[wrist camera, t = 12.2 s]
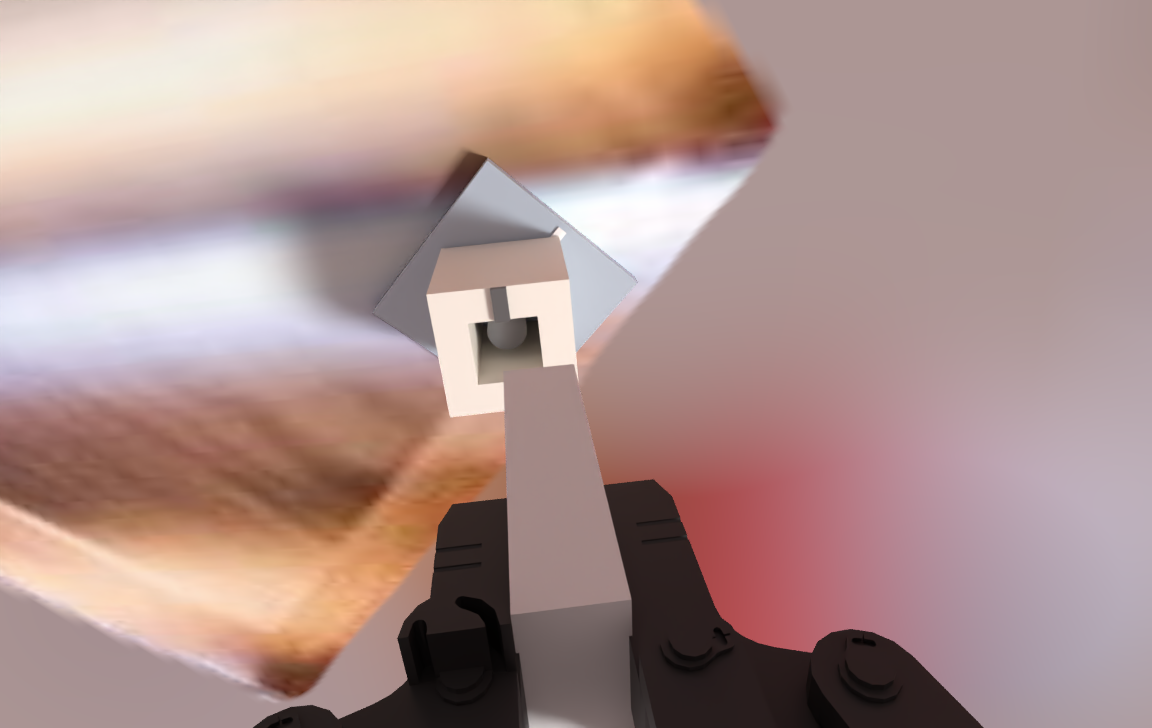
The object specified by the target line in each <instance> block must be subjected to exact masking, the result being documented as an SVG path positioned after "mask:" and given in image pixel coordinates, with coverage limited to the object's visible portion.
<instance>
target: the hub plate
mask: <svg viewBox="0 0 1152 728" xmlns="http://www.w3.org/2000/svg"><path fill="white" fill-rule="evenodd" d="M557 236H559V239H560V243H561V247H562V251H563V256H564V260H565V264H566V268H567V272H568V276H569V282H570V294H571V305H572V316H573V327H574V338H575V349H576V352H577V351H578V350H579V349H580V348H581V346H582V345H583V344H584V343H585V342H586V341H587V340H588V338H589V337H590V336H591V335H592V334H593V333H594V332H595V331H596V329H597V328H598V327H599V326H600V325H601V324H602V323H603V322H604V320H605V319H606V318H607V317H608V316H609V315H610V314H611V312H612V311H613V310H614V309H615V308H616V307H617V306H618V305H619V303H620V302H621V301H622V300H623V299H624V298H625V297H626V296H627V294H628V293H629V292H630V291H631V290H632V289H633V288H634V286H635V285H636V284H637V283H638V282H637V280H636V278H635V277H634V276H633V275H632V274H631V273H629V272H628V271H627V270H626V269H624V268H623V267H622V266H621V265H620V264H618V263H617V262H616V261H615V260H613V259H612V258H611V257H610V256H608V255H607V254H606V253H605V252H604V251H602V250H601V249H600V248H599V247H597V246H596V245H595V244H594V243H592V242H591V241H590V240H589V239H587V238H586V237H585V236H584V235H583V234H581V233H580V232H579V231H578V230H576V229H575V228H574V227H573V226H571V225H570V224H569V223H568V222H567V221H565V220H564V219H563V218H562V217H560V216H559V215H558V214H557V213H555V212H554V211H553V210H552V209H551V208H549V207H548V206H547V205H546V204H544V203H543V202H542V201H541V200H539V199H538V198H537V197H536V196H535V195H533V194H532V193H531V192H530V191H528V190H527V189H526V188H525V187H523V186H522V185H521V184H520V183H519V182H517V181H516V180H515V179H514V178H512V177H511V176H510V175H509V174H507V173H506V172H505V171H504V170H502V169H501V168H500V167H499V166H498V165H496V164H495V163H494V162H493V161H491V160H490V159H489V158H487V159H486V160H485V162H484V163H483V164H482V166H481V167H480V168H479V170H478V171H477V172H476V174H475V175H474V176H473V178H472V179H471V180H470V182H469V183H468V184H467V186H466V187H465V188H464V190H463V191H462V192H461V194H460V195H459V196H458V198H457V199H456V200H455V202H454V203H453V204H452V206H451V207H450V208H449V210H448V211H447V212H446V214H445V215H444V216H443V218H442V219H441V220H440V222H439V223H438V224H437V226H436V227H435V228H434V230H433V231H432V232H431V234H430V235H429V236H428V238H427V239H426V240H425V242H424V243H423V244H422V246H421V247H420V248H419V250H418V251H417V252H416V254H415V255H414V256H413V258H412V259H411V260H410V262H409V263H408V264H407V266H406V267H405V268H404V270H403V271H402V272H401V274H400V275H399V276H398V278H397V279H396V280H395V282H394V283H393V284H392V286H391V287H390V288H389V290H388V291H387V292H386V294H385V295H384V296H383V298H382V299H381V300H380V302H379V303H378V304H377V306H376V307H375V309H374V311H373V314H374V315H376V316H377V317H379V318H380V319H382V320H383V321H385V322H386V323H388V324H389V325H391V326H392V327H394V328H395V329H397V330H398V331H400V332H401V333H403V334H404V335H406V336H407V337H409V338H410V339H412V340H413V341H415V342H416V343H418V344H419V345H421V346H423V347H424V348H426V349H427V350H429V351H430V352H432V353H433V354H435V355H436V356H438V352H437V347H436V342H435V337H434V332H433V327H432V322H431V317H430V312H429V306H428V301H427V296H426V294H427V291H428V288H429V284H430V281H431V278H432V275H433V272H434V269H435V266H436V263H437V260H438V257H439V254H440V251H441V248H451V247H460V246H470V245H480V244H489V243H499V242H509V241H518V240H528V239H537V238H547V237H557ZM529 321H538V316H534V317H525V318H515V319H510V321H509V322H499V323H495V321H488V322H483V326H488V329H487V333H488V337H489V339H490V341H491V342H492V344H494V345H495V346H496V347H498V348H501V349H506V350H508V349H514V348H516V347H518V346H520V345H521V344H522V343H523V341H524V340H525V338H526V335H527V327H526V322H529Z"/></svg>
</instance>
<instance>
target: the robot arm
mask: <svg viewBox="0 0 1152 728" xmlns="http://www.w3.org/2000/svg"><path fill="white" fill-rule="evenodd" d="M503 378H504V412H505V446H506V480H507V498H504V499H495V500H486V501H477V502H469V503H460V504H453V505H452V506H451V508H450V509H449V511H448V512H447V514H446V515H445V516H444V518H443V519H442V521H441V522H440V524H439V525H438V533H437V542H436V554H435V560H434V573H433V578H432V587H431V596H430V599H428V600H426V601H425V602H423V603H421V604H420V605H418V606H417V607H416V608H415V609H414V611H413V612H412V613H411V614H410V615H409V616H408V617H407V618H406V620H405V621H404V623H403V625H402V628H401V631H400V633H399V636H398V638H397V639H398V643H399V646H400V651H401V655H402V658H403V662H404V666H405V670H406V674H407V678H408V680H407V681H406V682H405V683H404V684H403V685H402V686H401V687H399V688H398V689H397V690H396V691H394V692H393V693H392V694H391V695H389V696H388V697H386V698H384V699H382V700H380V701H378V702H377V703H375V704H373V705H370V706H368V707H366V708H363V709H361V710H359V711H357V712H354V713H352V714H350V715H347V716H345V717H343V718H340V719H337V718H336V717H335V716H334V715H333V714H332V712H330V710H326V709H323V708H320V707H317V706H313V705H307V706H297V707H290V708H287V709H285V710H282V711H280V712H278V713H275V714H273V715H270V716H268V717H266V718H265V719H264V720H262V721H261V722H260V723H259V724H257V725H256V726H254V727H253V728H983V727H982V726H981V725H980V724H979V722H978V721H976V719H975V718H974V717H973V716H972V715H971V714H969V712H968V711H966V709H965V708H964V707H963V706H962V705H961V704H960V703H959V702H958V701H957V700H956V699H955V698H954V697H953V696H952V695H951V694H950V693H949V692H948V691H947V690H946V689H944V687H943V686H942V685H941V684H940V683H939V682H938V681H937V680H936V679H935V678H934V677H933V676H932V675H931V674H930V673H929V672H928V671H927V670H926V669H925V668H924V667H923V666H922V665H921V664H920V663H919V662H918V661H917V660H916V659H915V658H914V657H913V656H912V655H911V654H909V653H908V652H906V651H905V650H904V649H903V648H901V647H900V646H899V645H898V644H896V643H895V642H894V641H891V640H889V639H887V638H884V637H882V636H880V635H877V634H875V633H873V632H866V631H860V630H853V629H849V630H843V631H837V632H831V633H830V634H828V635H827V636H826V637H824V638H822V639H821V640H819V641H818V642H817V644H816V646H815V648H814V650H813V652H812V653H808V652H802V651H796V650H789V649H783V648H776V647H771V646H767V645H763V644H759V643H756V642H754V641H752V640H750V639H748V638H745V637H743V636H742V635H740V634H739V633H737V632H736V631H735V630H734V629H733V627H732V626H731V625H730V624H729V623H728V622H726V621H724V620H723V619H722V618H721V617H720V615H719V613H718V611H717V609H716V608H715V606H714V603H713V601H712V598H711V596H710V593H709V591H708V588H707V585H706V583H705V580H704V578H703V575H702V572H701V570H700V568H699V565H698V562H697V560H696V557H695V555H694V552H693V549H692V547H691V544H690V542H689V540H688V539H687V534H686V531H685V529H684V526H683V524H682V522H681V520H680V516H679V513H678V511H677V508H676V506H675V503H674V500H673V498H672V496H671V495H670V494H669V493H668V492H667V491H666V490H664V489H663V488H662V487H661V486H660V485H659V484H658V483H657V482H656V481H655V480H644V481H635V482H627V483H618V484H609V485H603V481H602V478H601V473H600V469H599V465H598V461H597V457H596V453H595V449H594V444H593V441H592V436H591V432H590V428H589V424H588V420H587V416H586V412H585V408H584V403H583V399H582V395H581V391H580V387H579V383H578V379H577V375H576V371H575V367H574V364H569V365H559V366H549V367H539V368H529V369H519V370H509V371H503Z"/></svg>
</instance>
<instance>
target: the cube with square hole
mask: <svg viewBox="0 0 1152 728" xmlns="http://www.w3.org/2000/svg"><path fill="white" fill-rule="evenodd" d="M426 296H427V301H428V306H429V312H430V317H431V322H432V327H433V332H434V337H435V342H436V347H437V352H438V358H439V363H440V368H441V373H442V378H443V383H444V388H445V393H446V398H447V404H448V409H449V414H450V417H458V416H466V415H475V414H484V413H492V412H501V411H504V378H503V371H509V370H519V369H529V368H539V367H549V366H559V365H569V364H574V367H575V371H576V375H577V379H578V371H577V360H576V349H575V338H574V327H573V316H572V305H571V294H570V282H569V276H568V272H567V268H566V264H565V260H564V256H563V251H562V247H561V243H560V239H559V236H557V237H547V238H537V239H528V240H518V241H509V242H499V243H489V244H480V245H470V246H460V247H451V248H441V251H440V254H439V257H438V260H437V263H436V266H435V269H434V272H433V275H432V278H431V281H430V284H429V288H428V291H427V294H426ZM534 316H538V321H529V322H526V327H527V335H526V338H525V340H524V341H523V343H522V344H521V345H520V346H518V347H516V348H514V349H508V350H506V349H501V348H498V347H496V346H495V345H494V344H492V342H491V341H490V339H489V337H488V333H487V329H488V326H483V322H488V321H495V323H499V322H509V321H510V319H515V318H525V317H534Z"/></svg>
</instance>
